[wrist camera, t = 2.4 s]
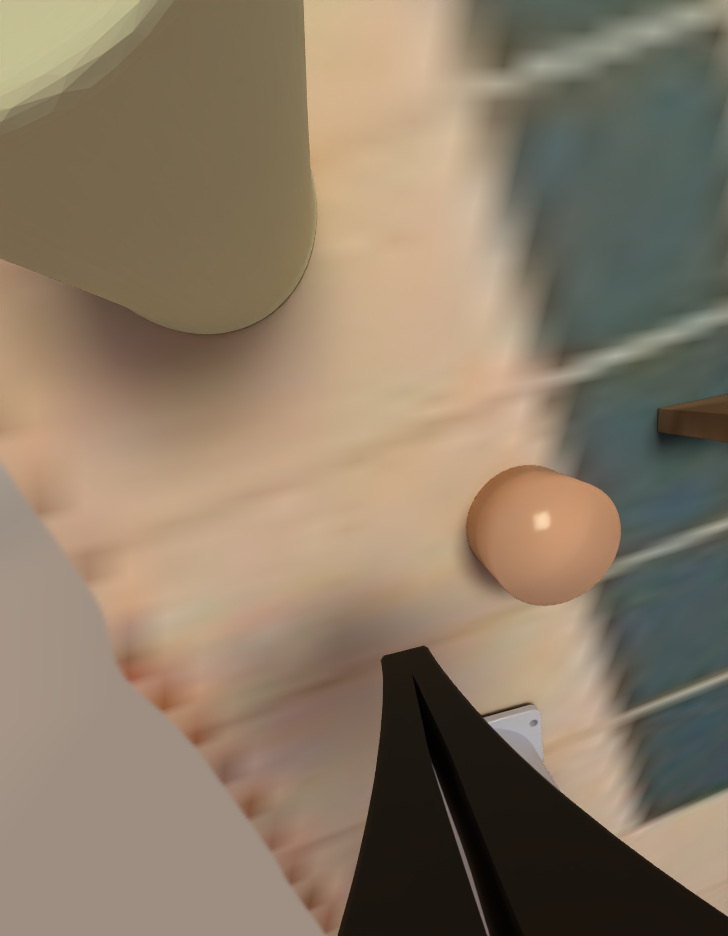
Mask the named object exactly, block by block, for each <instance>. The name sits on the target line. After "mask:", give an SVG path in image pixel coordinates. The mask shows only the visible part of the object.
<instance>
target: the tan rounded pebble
mask: <svg viewBox="0 0 728 936" xmlns="http://www.w3.org/2000/svg"><path fill="white" fill-rule="evenodd" d="M466 528H467V538H468V542H469V545H470V547H471V549H472V551H473V553H474V554H475V555H476V557H477V558H478V559H479V560H480V561H481V563H482V564H483V565H484V566H485V567H486V568H487V569H488V570H489V572H490V573H491V574H492V575H493V576H494V577H495V578H496V579H497V581H498V582H499V583H500V584H501V585H502V586H503V587H504V588H505V590H507V591H508V592H509V593H510V594H511V595H512V596H514V597H515V598H516V599H518V600H520V601H522V602H525V603H528V604H533V605H541V606H547V605H556V604H561V603H564V602H567V601H570V600H572V599H574V598H576V597H578V596H580V595H582V594H583V593H585V592H586V591H588V590H589V589H590V588H592V587H593V586H594V585H595V584H596V583H597V582H598V581H599V580H600V579H601V578H602V577H603V576H604V574H605V573H606V572H607V570H608V569H609V567H610V565H611V564H612V562H613V560H614V558H615V556H616V553H617V550H618V547H619V542H620V534H621V527H620V519H619V515H618V512H617V509H616V507H615V506H614V504H613V502H612V501H611V500H610V498H609V497H608V496H607V495H606V494H605V493H604V492H603V491H601V490H600V489H598V488H597V487H595V486H592V485H590V484H588V483H585V482H582V481H580V480H577V479H574V478H572V477H569V476H567V475H564V474H561V473H559V472H556V471H554V470H551V469H548V468H546V467H542V466H536V465H523V466H517V467H514V468H510V469H508V470H506V471H503V472H502V473H500V474H498V475H496V476H495V477H494V478H492V479H491V480H490V481H489V482H488V483H487V484H485V485H484V486H483V488H482V489H481V490H480V491H479V493H478V494H477V496H476V497H475V499H474V501H473V503H472V505H471V507H470V510H469V513H468V518H467V526H466Z"/></svg>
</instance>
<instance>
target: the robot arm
mask: <svg viewBox="0 0 728 936" xmlns="http://www.w3.org/2000/svg"><path fill="white" fill-rule="evenodd" d="M381 664H382V672H383V706H382V720H381V732H380V741H379V749H378V756H377V764H376V771H375V778H374V784H373V790H372V795H371V801H370V806H369V811H368V816H367V821H366V826H365V830H364V835H363V839H362V844H361V848H360V853H359V857H358V861H357V866H356V870H355V874H354V878H353V882H352V886H351V889H350V893H349V897H348V900H347V904H346V907H345V911H344V915H343V918H342V922H341V926H340V929H339V933H338V936H728V917H727V916H726V915H725V914H723V913H722V912H720V911H719V910H717V909H716V908H714V907H713V906H711V905H710V904H709V903H707V902H706V901H704V900H703V899H701V898H700V897H698V896H697V895H695V894H694V893H693V892H691V891H690V890H688V889H687V888H685V887H684V886H683V885H681V884H680V883H678V882H677V881H676V880H674V879H673V878H671V877H670V876H669V875H667V874H666V873H664V872H663V871H661V870H660V869H659V868H657V867H656V866H654V865H653V864H652V863H650V862H649V861H648V860H646V859H645V858H644V857H642V856H641V855H640V854H638V853H637V852H636V851H634V850H633V849H632V848H630V847H629V846H628V845H626V844H625V843H624V842H622V841H621V840H620V839H618V838H617V837H616V836H614V835H613V834H612V833H611V832H609V831H608V830H607V829H606V828H605V827H603V826H602V825H601V824H600V823H598V822H597V821H596V820H595V819H593V818H592V817H591V816H590V815H588V814H587V813H586V812H585V811H583V810H582V809H581V808H580V807H578V806H577V805H576V804H575V803H574V802H572V801H571V800H570V799H569V798H567V797H566V796H565V795H564V794H563V793H561V792H560V790H559V788H558V787H557V785H556V783H555V782H554V780H553V778H552V776H551V775H550V773H549V771H548V770H547V768H546V766H545V765H544V761H543V745H542V730H541V714H540V711H539V710H538V708H537V707H536V706H535V705H527V706H523V707H520V708H516V709H512V710H509V711H505V712H502V713H498V714H494V715H491V716H487V717H484V718H483V717H482V716H481V715H480V714H479V713H478V712H477V711H476V709H475V708H474V707H473V706H472V705H471V704H470V702H469V701H468V700H467V699H466V698H465V697H464V696H463V694H462V693H461V692H460V691H459V690H458V688H457V687H456V686H455V685H454V684H453V682H452V681H451V680H450V679H449V677H448V676H447V675H446V673H445V672H444V671H443V669H442V668H441V667H440V665H439V664H438V663H437V661H436V660H435V658H434V657H433V655H432V654H431V652H430V651H429V649H428V648H427V647H425V646H420V647H417V648H413V649H409V650H405V651H401V652H397V653H393V654H389V655H386V656H384V657H383V658H382V659H381Z"/></svg>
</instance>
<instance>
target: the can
mask: <svg viewBox="0 0 728 936" xmlns="http://www.w3.org/2000/svg"><path fill="white" fill-rule="evenodd" d="M316 223H317V204H316V193H315V186H314V180H313V175H312V171H311V168H310V150H309V131H308V112H307V88H306V60H305V33H304V6H303V0H0V258H1V259H3V260H6V261H9V262H11V263H14V264H17V265H19V266H22V267H25V268H27V269H30V270H33V271H35V272H38V273H40V274H43V275H45V276H48V277H50V278H53V279H56V280H58V281H61V282H63V283H66V284H68V285H71V286H74V287H76V288H79V289H81V290H84V291H86V292H89V293H92V294H94V295H97V296H99V297H102V298H104V299H107V300H110V301H112V302H115V303H117V304H119V305H122V306H124V307H127V308H128V309H130V310H131V311H133V312H134V313H136V314H137V315H139V316H141V317H143V318H145V319H147V320H149V321H151V322H154V323H156V324H158V325H161V326H164V327H166V328H170V329H173V330H177V331H181V332H187V333H194V334H219V333H226V332H231V331H235V330H239V329H242V328H245V327H247V326H250V325H252V324H254V323H256V322H258V321H260V320H262V319H263V318H265V317H266V316H268V315H269V314H271V313H272V312H273V311H274V310H276V309H277V308H278V307H279V306H280V305H281V304H282V303H283V302H284V301H285V300H286V299H287V298H288V297H289V295H290V294H291V293H292V292H293V290H294V289H295V288H296V286H297V284H298V283H299V281H300V279H301V278H302V276H303V274H304V271H305V269H306V267H307V264H308V261H309V259H310V256H311V252H312V248H313V245H314V239H315V233H316Z"/></svg>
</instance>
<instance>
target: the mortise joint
mask: <svg viewBox="0 0 728 936" xmlns="http://www.w3.org/2000/svg"><path fill="white" fill-rule="evenodd" d="M658 432H662V433H668V434H675V435H682V436H689V437H695V438H702V439H709V440H716V441H722V442H728V394H724V395H720V396H715V397H711V398H706V399H701V400H697V401H692V402H687V403H683V404H678V405H673V406H669V407H664V408H659V414H658Z"/></svg>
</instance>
